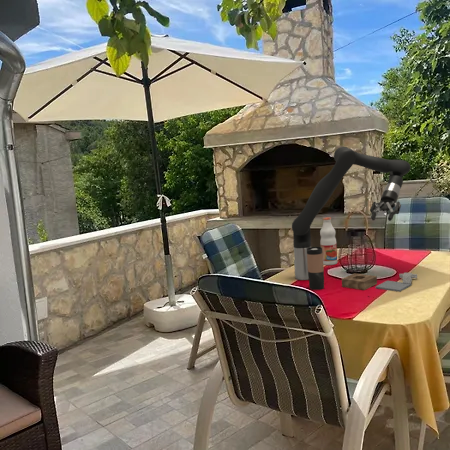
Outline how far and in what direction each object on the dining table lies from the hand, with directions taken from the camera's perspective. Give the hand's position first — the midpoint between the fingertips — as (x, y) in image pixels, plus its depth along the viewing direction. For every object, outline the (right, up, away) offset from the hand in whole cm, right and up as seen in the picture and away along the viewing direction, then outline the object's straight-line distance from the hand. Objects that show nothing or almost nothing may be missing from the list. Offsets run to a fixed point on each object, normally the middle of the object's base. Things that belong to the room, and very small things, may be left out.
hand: (380, 219), depth 216 cm
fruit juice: (-13, -26, +50) cm, 58 cm away
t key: (+9, -29, -8) cm, 31 cm away
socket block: (-11, -32, -1) cm, 34 cm away
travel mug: (-31, -34, +1) cm, 46 cm away
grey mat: (+3, -32, -8) cm, 33 cm away
